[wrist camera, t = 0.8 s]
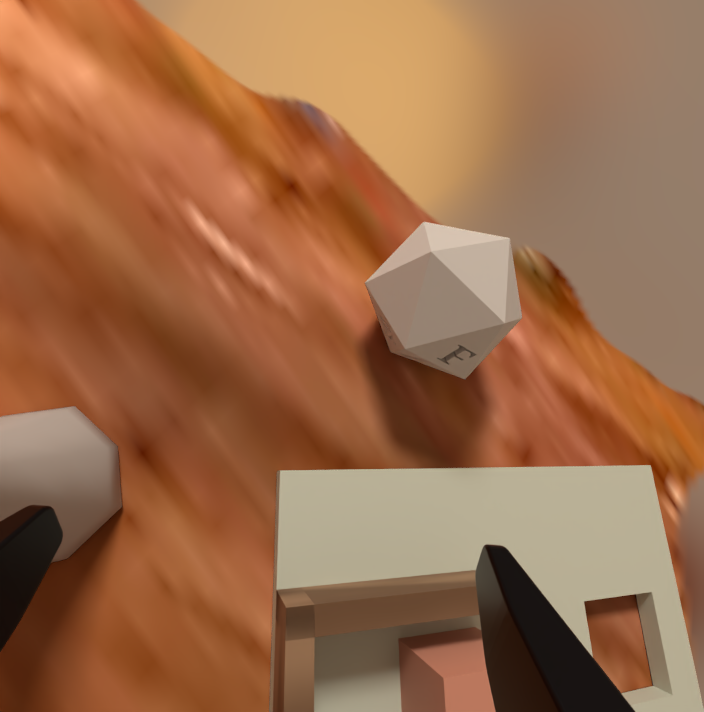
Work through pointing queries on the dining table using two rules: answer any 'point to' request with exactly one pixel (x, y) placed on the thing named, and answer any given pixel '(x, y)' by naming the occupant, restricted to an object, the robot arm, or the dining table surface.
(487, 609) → the robot arm
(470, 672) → the block
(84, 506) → the flask
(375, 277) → the die
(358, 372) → the dining table surface
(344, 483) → the board
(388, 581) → the cubby
